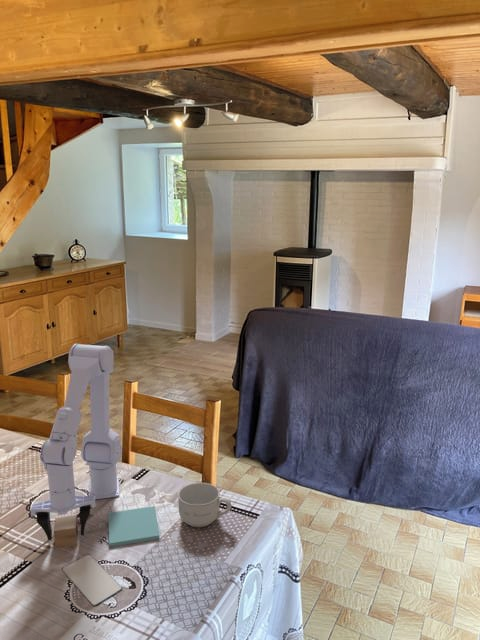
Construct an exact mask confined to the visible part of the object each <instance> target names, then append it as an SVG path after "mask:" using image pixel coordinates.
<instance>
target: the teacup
mask: <svg viewBox="0 0 480 640" xmlns="http://www.w3.org/2000/svg"><path fill="white" fill-rule="evenodd" d="M220 495H221V492H220V489H219V488H218V487H217V486H216V485H213V484H211V483H209V482H194V483H189V484H186V485H185V486H183V487H182V488H181V489H179V491H178V493H177V499H178V512H179V516H180V519H181V520H182V521H183V522H184V523H185V524H187V525H189V526H191V527H193V528H203V527H207V526H209V525H210V524H211V523H213V522H214V521H216V520H217V519H219V518H221V517H222V516H224V515H227V514H228V513H229V512H230V511H231V509H232V502H231V500H230V499H229V498H227V497H220ZM221 503H224V504H225V505H226V506H227V508H226V509H223V510H220V506H221Z"/></svg>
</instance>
